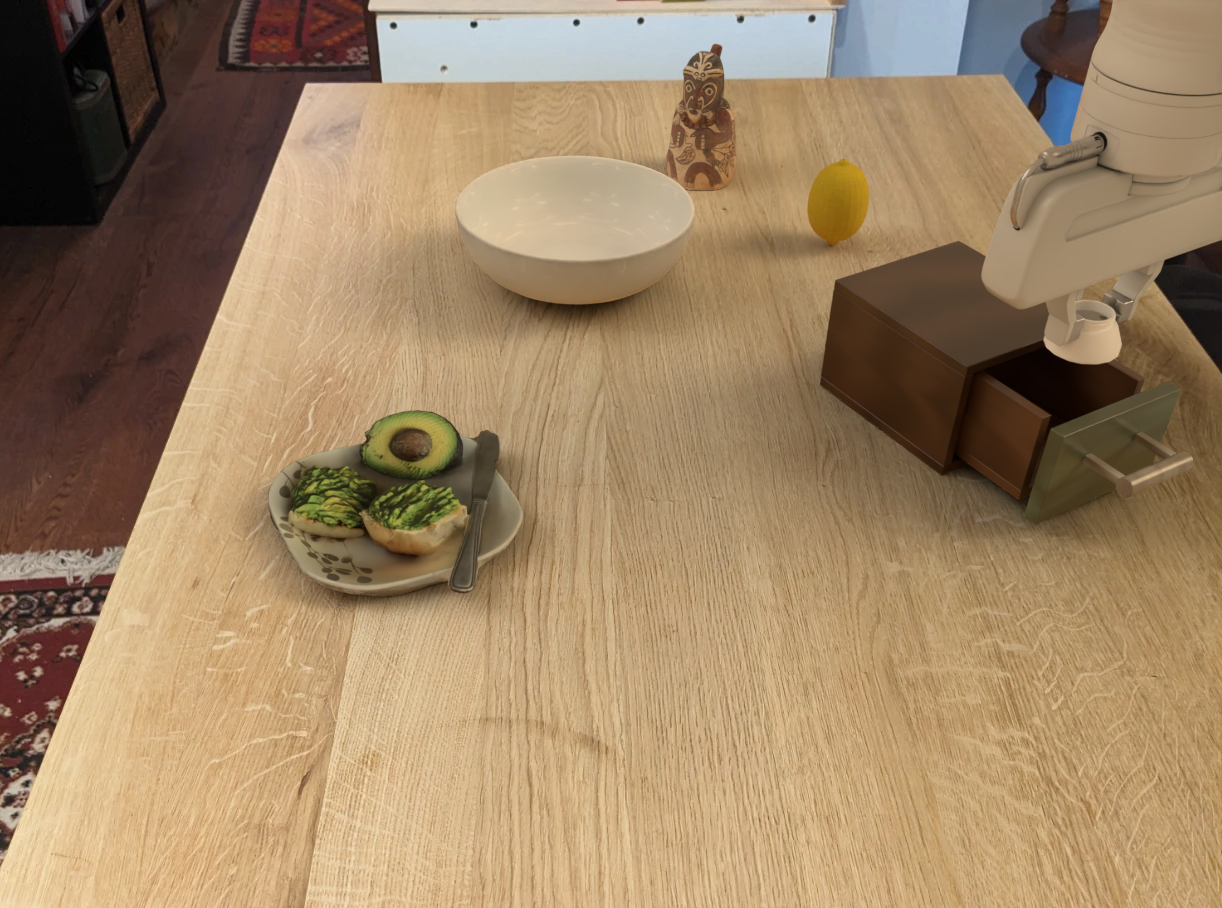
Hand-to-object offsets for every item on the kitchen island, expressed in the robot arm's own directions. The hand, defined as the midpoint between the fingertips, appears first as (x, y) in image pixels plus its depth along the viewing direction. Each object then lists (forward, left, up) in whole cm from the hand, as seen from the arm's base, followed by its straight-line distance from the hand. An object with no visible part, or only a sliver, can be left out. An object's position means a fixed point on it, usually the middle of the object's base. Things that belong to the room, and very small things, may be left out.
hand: (1087, 329), depth 86 cm
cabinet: (0, -11, -12) cm, 16 cm away
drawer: (0, 0, -11) cm, 11 cm away
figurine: (-8, -56, -12) cm, 58 cm away
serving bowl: (+14, -44, -12) cm, 48 cm away
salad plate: (+43, -20, -12) cm, 49 cm away
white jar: (0, 0, -2) cm, 2 cm away
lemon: (-10, -37, -12) cm, 41 cm away
